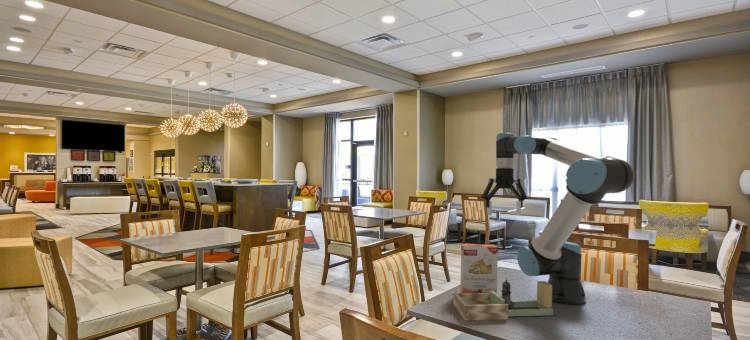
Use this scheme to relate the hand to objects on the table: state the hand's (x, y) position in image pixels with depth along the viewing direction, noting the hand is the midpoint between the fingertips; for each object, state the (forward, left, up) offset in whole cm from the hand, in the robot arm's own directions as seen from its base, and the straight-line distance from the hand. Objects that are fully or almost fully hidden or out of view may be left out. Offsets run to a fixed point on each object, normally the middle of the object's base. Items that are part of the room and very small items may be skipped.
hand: (504, 215), depth 176 cm
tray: (+7, +31, -31) cm, 45 cm away
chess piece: (+13, +31, -32) cm, 46 cm away
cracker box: (+16, +12, -32) cm, 38 cm away
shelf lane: (+23, +31, -32) cm, 50 cm away
